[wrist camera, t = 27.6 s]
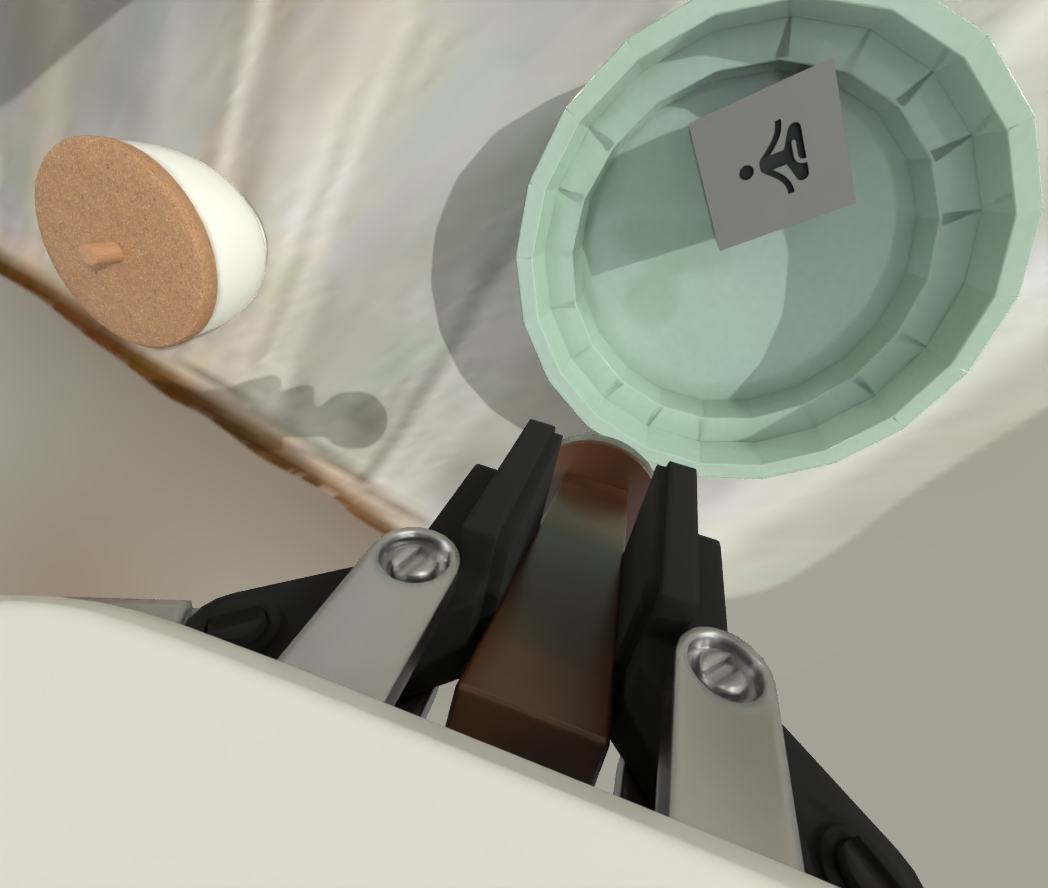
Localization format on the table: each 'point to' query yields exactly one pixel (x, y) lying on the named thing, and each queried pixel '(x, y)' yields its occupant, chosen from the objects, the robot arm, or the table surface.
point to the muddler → (559, 619)
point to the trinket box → (148, 238)
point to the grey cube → (774, 157)
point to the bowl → (779, 237)
